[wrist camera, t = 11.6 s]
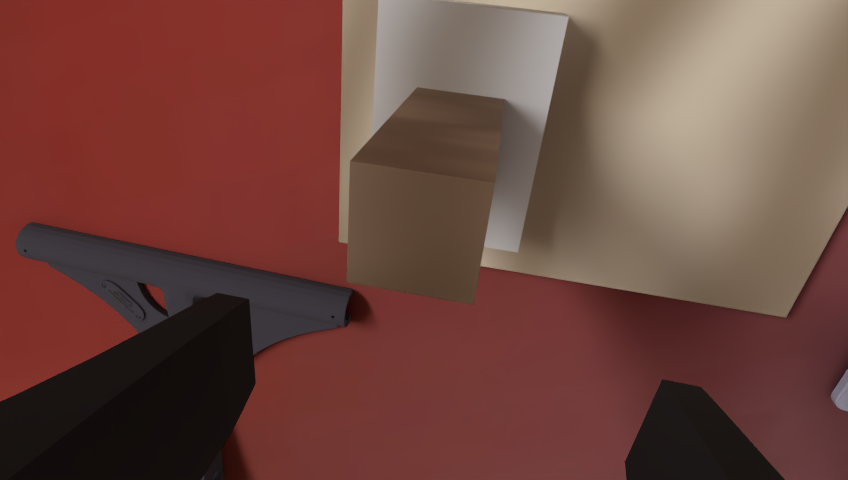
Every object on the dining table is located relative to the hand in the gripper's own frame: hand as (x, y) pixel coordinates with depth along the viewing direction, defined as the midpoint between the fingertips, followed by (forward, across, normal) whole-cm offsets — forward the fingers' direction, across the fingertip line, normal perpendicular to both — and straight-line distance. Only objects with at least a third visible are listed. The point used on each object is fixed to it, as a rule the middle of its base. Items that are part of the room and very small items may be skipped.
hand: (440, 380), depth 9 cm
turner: (+9, +1, -2) cm, 10 cm away
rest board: (+10, -3, -4) cm, 11 cm away
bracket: (+11, +12, +13) cm, 20 cm away
